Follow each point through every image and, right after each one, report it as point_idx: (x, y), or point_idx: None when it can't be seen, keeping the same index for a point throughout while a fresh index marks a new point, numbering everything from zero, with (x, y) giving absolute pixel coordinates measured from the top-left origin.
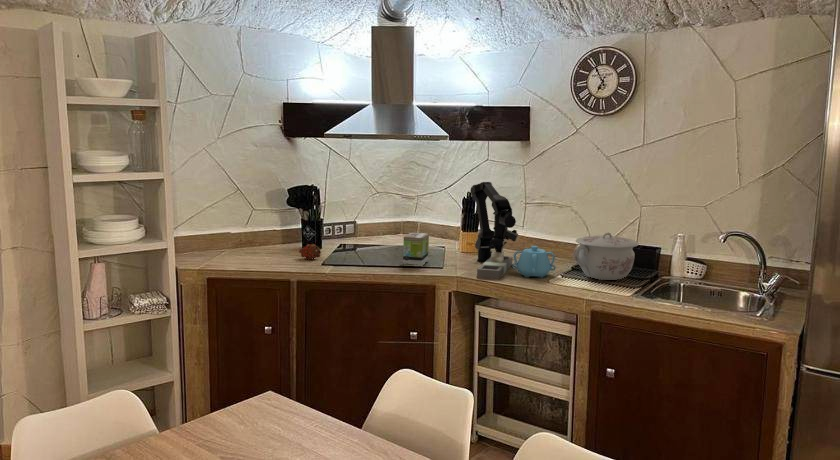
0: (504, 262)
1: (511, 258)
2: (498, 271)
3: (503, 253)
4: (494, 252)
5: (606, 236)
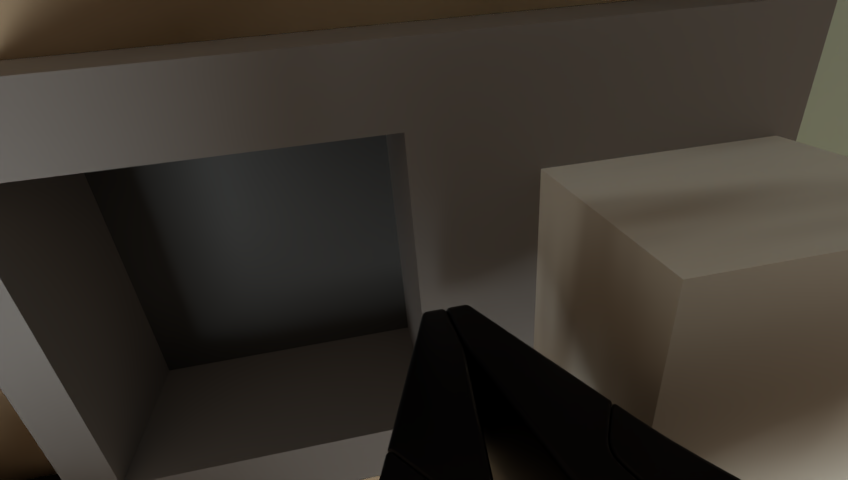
0: (776, 68)
1: (42, 70)
2: None
3: (692, 251)
4: (765, 470)
5: None
